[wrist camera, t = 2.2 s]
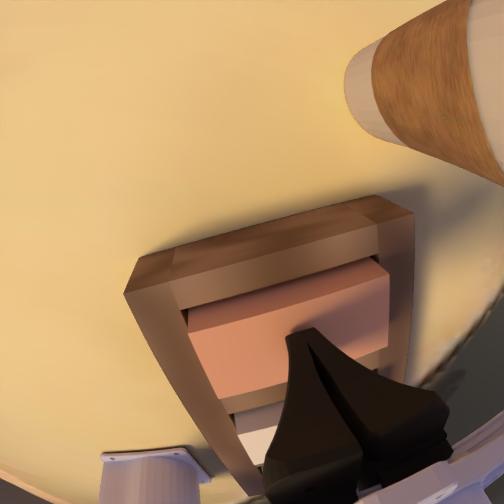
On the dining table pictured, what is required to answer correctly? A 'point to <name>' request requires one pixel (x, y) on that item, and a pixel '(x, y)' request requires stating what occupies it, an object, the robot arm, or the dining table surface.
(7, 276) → the dining table surface
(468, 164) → the coffee cup
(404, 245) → the button board
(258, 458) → the cream button
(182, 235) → the dining table surface
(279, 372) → the terracotta button
